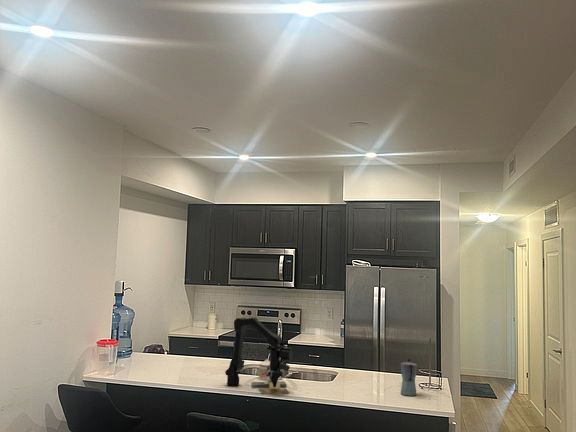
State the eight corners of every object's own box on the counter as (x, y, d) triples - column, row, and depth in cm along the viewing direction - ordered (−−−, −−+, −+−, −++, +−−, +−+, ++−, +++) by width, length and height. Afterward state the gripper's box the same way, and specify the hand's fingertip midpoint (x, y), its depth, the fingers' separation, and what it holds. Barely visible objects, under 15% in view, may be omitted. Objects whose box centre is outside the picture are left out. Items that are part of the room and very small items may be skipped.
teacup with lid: (256, 378, 337) (257, 360, 338) (262, 376, 345) (263, 357, 346) (273, 381, 332) (274, 362, 333) (279, 378, 341) (280, 359, 342)
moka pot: (413, 391, 317) (414, 357, 319) (420, 398, 302) (421, 362, 303) (397, 391, 317) (398, 356, 318) (404, 398, 301) (404, 361, 303)
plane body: (252, 388, 312) (253, 379, 313) (251, 385, 319) (251, 376, 320) (286, 387, 316) (286, 379, 317) (284, 385, 323) (284, 376, 323)
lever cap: (269, 388, 304) (269, 382, 304) (268, 386, 308) (268, 380, 308) (279, 388, 305) (280, 382, 305) (278, 386, 309) (278, 380, 310)
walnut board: (261, 393, 300) (261, 393, 300) (258, 389, 310) (258, 388, 310) (289, 393, 303) (289, 392, 303) (285, 389, 313) (285, 388, 313)
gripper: (292, 361, 300) (291, 389, 299) (285, 355, 318) (284, 382, 317) (272, 361, 298) (271, 390, 297) (267, 355, 316) (266, 382, 315)
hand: (273, 386), depth 306 cm, fingers closed on lever cap, 4 cm apart
